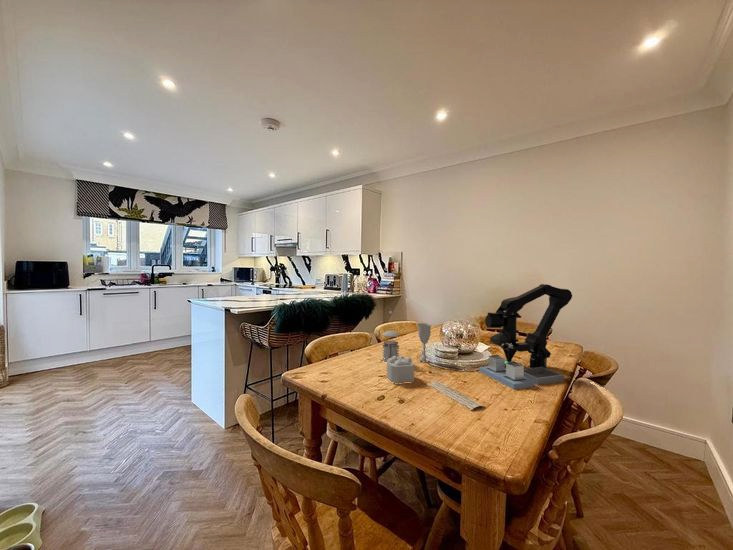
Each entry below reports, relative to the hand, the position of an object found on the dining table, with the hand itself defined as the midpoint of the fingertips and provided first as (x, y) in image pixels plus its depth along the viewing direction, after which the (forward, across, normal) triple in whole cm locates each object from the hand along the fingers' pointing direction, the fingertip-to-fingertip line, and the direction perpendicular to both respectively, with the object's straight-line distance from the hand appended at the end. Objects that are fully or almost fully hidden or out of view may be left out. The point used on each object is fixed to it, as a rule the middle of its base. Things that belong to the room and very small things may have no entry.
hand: (508, 361), depth 138 cm
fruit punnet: (+4, -4, -52) cm, 52 cm away
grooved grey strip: (+4, +17, -40) cm, 43 cm away
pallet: (+4, +10, -11) cm, 15 cm away
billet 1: (+4, +5, -11) cm, 13 cm away
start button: (+3, 0, 0) cm, 3 cm away
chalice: (+4, -22, -31) cm, 38 cm away
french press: (+4, -24, -48) cm, 54 cm away
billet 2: (+4, +15, -11) cm, 19 cm away
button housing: (+4, 0, 0) cm, 4 cm away
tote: (+4, +14, +3) cm, 15 cm away
